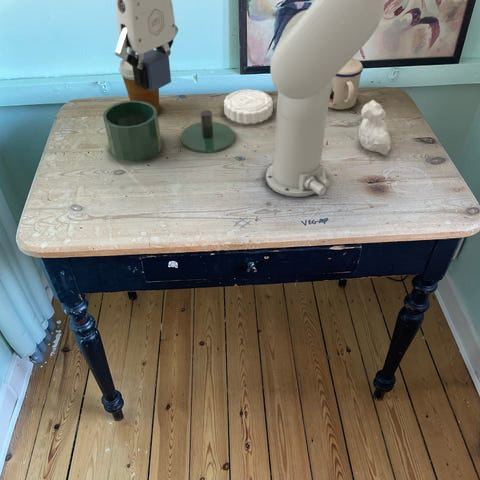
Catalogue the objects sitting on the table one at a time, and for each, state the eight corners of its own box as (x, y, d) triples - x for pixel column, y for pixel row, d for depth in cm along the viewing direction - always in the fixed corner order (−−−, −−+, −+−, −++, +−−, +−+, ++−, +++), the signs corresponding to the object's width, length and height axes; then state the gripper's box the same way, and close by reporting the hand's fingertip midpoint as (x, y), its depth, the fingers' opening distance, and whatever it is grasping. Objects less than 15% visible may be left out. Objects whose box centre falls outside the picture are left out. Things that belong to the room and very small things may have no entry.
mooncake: (255, 96, 127) (255, 82, 124) (281, 116, 121) (282, 102, 118) (215, 109, 123) (214, 95, 120) (240, 130, 117) (240, 116, 114)
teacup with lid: (316, 94, 127) (321, 47, 118) (349, 91, 128) (357, 43, 119) (330, 118, 120) (337, 69, 111) (365, 114, 121) (375, 65, 112)
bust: (361, 140, 118) (338, 107, 110) (389, 120, 114) (368, 84, 107) (376, 169, 110) (353, 135, 103) (407, 148, 107) (386, 112, 99)
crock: (171, 151, 111) (166, 116, 105) (126, 169, 107) (119, 133, 100) (145, 130, 117) (139, 95, 111) (102, 146, 113) (93, 111, 106)
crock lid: (245, 142, 113) (245, 115, 108) (201, 161, 109) (198, 133, 104) (214, 120, 120) (212, 93, 114) (171, 137, 115) (167, 110, 110)
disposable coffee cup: (119, 114, 122) (109, 64, 113) (145, 98, 127) (137, 49, 117) (148, 125, 118) (140, 75, 109) (173, 109, 123) (167, 59, 114)
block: (153, 74, 98) (150, 47, 94) (171, 82, 96) (168, 55, 92) (134, 83, 95) (130, 56, 91) (153, 91, 93) (149, 64, 89)
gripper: (115, -10, 75) (134, 104, 90) (190, -37, 84) (196, 72, 98) (83, -21, 78) (106, 91, 93) (159, -46, 87) (170, 61, 101)
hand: (152, 80), depth 95 cm, fingers closed on block, 5 cm apart
